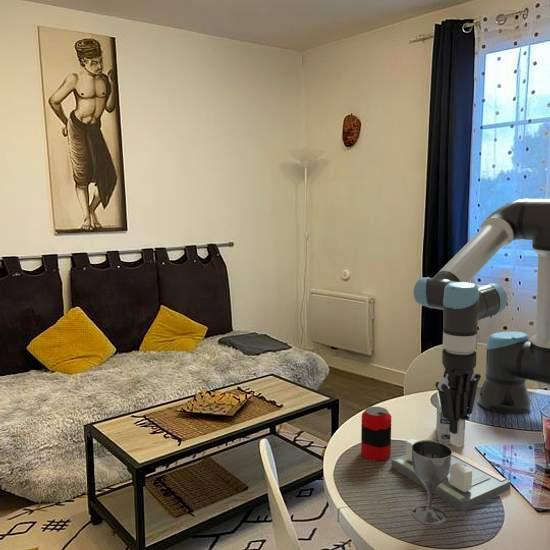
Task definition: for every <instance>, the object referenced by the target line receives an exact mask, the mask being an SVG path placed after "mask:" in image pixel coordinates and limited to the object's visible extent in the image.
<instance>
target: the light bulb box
mask: <svg viewBox="0 0 550 550" xmlns="http://www.w3.org/2000/svg"><path fill="white" fill-rule="evenodd" d="M435 428H436V433H437V439H438V442H441V443H444V444H446V445H453V444H451V443H450V431H449V420H448V419H446V418H444V417H443V415H442V409H441V403H440V398H439V392H438V391H437V392H436V427H435ZM465 429H466V428H465ZM465 429H464V435H466V434H465V431H466V430H465ZM453 446H454V445H453ZM463 446H465V437H464V438H463Z"/></svg>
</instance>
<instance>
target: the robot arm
mask: <svg viewBox="0 0 550 550" xmlns="http://www.w3.org/2000/svg"><path fill="white" fill-rule="evenodd" d="M515 240H517V241H518V240H526V241H531V244H532V247H531V249H532V250H533V251H534V252H536V254H537V280H536V281H537V286H536V287H537V292H536V295H537V296H536V330H535V331H536V332H535V334H534V335H532V336H531V338H530V337H529V334H528V333H526V332H522V331H499V332H495V333H492V334H490V335H489V336H488V337H487V341H486V347H485V350H486V353H485V377H484V380H483V383H482V385H481V388H480V390H479V393H478V399H477V401H478V402H477V403H478V404H479V405H480V406H481V407H482V408H484V409H486V410H488V411H491V412H494V413H498V414H499V413H500V414H505V415H520V414H524V413H528V412H529V411H530V410H531V399H530V396H529V392H528V389H527V385H526V380H527V381H530V382H535V383H538V384H543V385H545V386H550V198H521V199H517V200H514V201H511V202H508V203H506V204H504V205H502V206H500V207H499V208H498V209H496V210H494V211H493V212H492V213H491V214H489V215H488V216H487V217H486V218H485V219H484V220H483V222H482V223H481V225H480V229H479V231H477V233H476V234H475V235H474V236H472V237H471V239H469V241H468V242H467V243H466V244H465V245H464V246H462V248H461V249H460V250H459V251H458V252H457V253H456V254H455V255H454V256H453V257H452V258H451V259H450V260H448V262H447V263H446V264H445V265H444V266H443V267H442V268H441V269H440V270H439V271H438V272H437V273H436V274H435V275H434V276H433V277H430V276H427V277H420V278H419V279H417V281H416V282H415V285H414V287H413V297H414V301H415V302H416V304H419V305H420V306H424V307H426V308H429V309H437V310H442V313H443V314H442V315H443V316H442V317H443V321H442V322H443V325H442V327H443V328H442V348H443V349H442V352H441V354H442V356H441V364H442V366H443V368H444V373H443V375H442V376H443V378H442V380H441V381H436V382H435V384H434V385H435V387H436V389H437V392H439V398H440V403H441V409H442V415H443V417H444V418H446V419H448V420H449V431H450V443H451V444H450V445H452V444H453V446H455V447H458V448H461V447H463V446H464V445H463V438H464V439H465V434H464V429H466V421H469V420H470V416H468V415H472V413H473V411H474V404H475V401H476V394H477V391H478V386H479V385H478V384H479V382H480V380H481V377H482V376H481V374H479V373H477V372H475V371H474V369H475V368H476V367H477V349H478V325H479V323H478V321H480V320H483V319H486V318H490V317H492V316H495V315H496V316H497V314H499V313H500V312H502V311H504V310H505V309H506V307H507V304H508V301H509V299H508V295H507V292H506V290H505V289H504V288H503V287H502V286H500V285H499V284H497V283H483V284H475V283H472V282H471V281H472V279H474V277H475V276H477V275H478V273H479V272H480V271H481V270H482V269H483V267H485V266H486V264H487V263H488V262H490V260H491V259H492V258H493V257H494V256H495V255H496V254H497V253H498V252H499V251H500V249H501V248H502V247H506V246H509V245H510V244H511V243H512V242H513V241H515Z"/></svg>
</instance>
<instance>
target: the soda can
mask: <svg viewBox="0 0 550 550" xmlns="http://www.w3.org/2000/svg"><path fill="white" fill-rule="evenodd" d="M360 426H361V431H360V433H361V437H360V438H361V440H360V444H361V446H360V452H361V455H362V456H363V458H365V459H366V458H367V460H369V459H370V460H369V461H372V460H375V461H374V462H383V461H386V460H388V459H389V458H390V457H391V454H392V453H391V451H392V449H391V448H392V415H391V413H390V412H389V411H388V409H386V408H385V407H383V406H369V407H366V409H365V410H364V411H363V412H362V414H361V425H360Z"/></svg>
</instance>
